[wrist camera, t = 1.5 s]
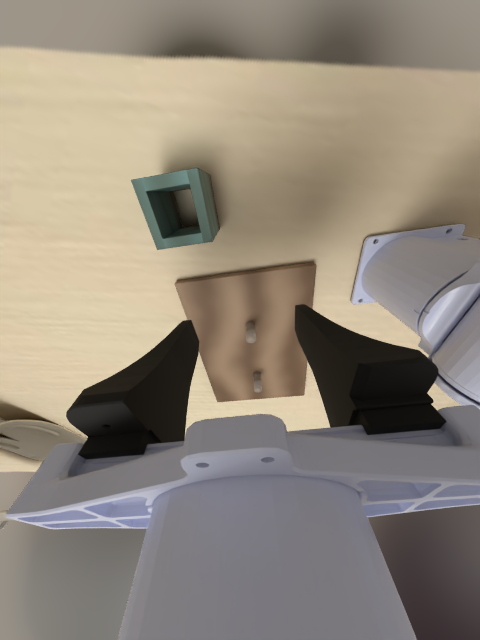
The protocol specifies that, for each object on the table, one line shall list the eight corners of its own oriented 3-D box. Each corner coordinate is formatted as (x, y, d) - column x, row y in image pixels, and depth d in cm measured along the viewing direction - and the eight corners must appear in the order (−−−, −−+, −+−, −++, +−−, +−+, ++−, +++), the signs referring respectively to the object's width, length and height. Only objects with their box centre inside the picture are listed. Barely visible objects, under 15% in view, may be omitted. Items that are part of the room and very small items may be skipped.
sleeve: (209, 175, 17) (197, 167, 12) (219, 228, 19) (212, 241, 14) (162, 183, 17) (130, 180, 12) (178, 235, 19) (157, 249, 14)
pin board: (313, 262, 21) (327, 275, 18) (302, 390, 34) (309, 411, 31) (177, 280, 22) (165, 295, 19) (218, 397, 36) (215, 418, 32)
